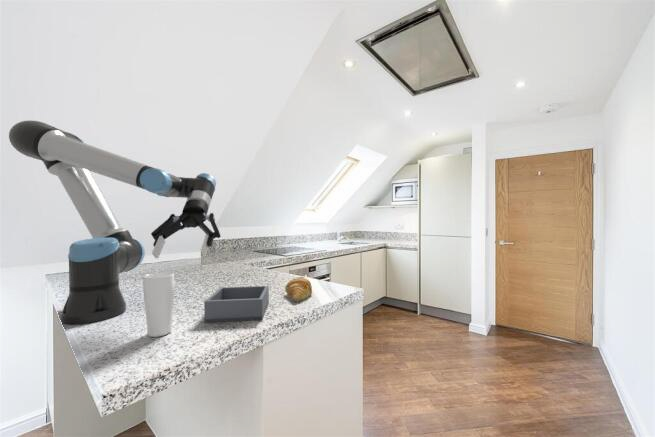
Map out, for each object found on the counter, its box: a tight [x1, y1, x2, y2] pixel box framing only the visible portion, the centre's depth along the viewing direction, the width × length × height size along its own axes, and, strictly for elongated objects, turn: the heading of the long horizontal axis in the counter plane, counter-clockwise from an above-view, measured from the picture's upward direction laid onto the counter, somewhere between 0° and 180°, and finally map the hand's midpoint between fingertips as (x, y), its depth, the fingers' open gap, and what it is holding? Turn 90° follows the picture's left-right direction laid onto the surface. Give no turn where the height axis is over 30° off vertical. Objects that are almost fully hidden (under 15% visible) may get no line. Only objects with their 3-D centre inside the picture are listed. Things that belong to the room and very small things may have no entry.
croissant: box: [284, 276, 313, 302], centre depth 104 cm, size 21×10×8 cm, turn 1°
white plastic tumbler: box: [142, 272, 175, 338], centre depth 70 cm, size 7×7×15 cm
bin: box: [203, 285, 270, 324], centre depth 85 cm, size 16×16×6 cm
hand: (179, 254), depth 81 cm, fingers open, 13 cm apart
